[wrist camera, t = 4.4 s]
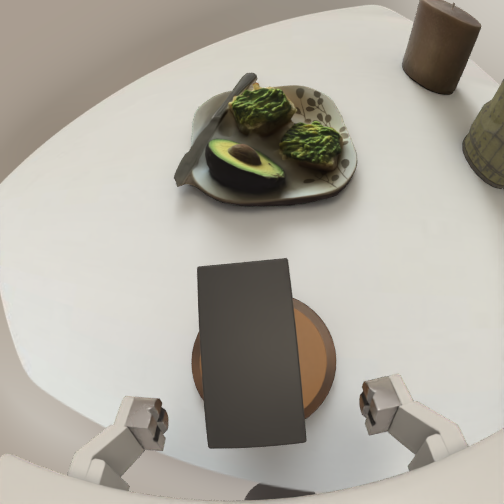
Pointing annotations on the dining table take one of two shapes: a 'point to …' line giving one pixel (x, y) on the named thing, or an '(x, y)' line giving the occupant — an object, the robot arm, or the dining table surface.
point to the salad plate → (268, 146)
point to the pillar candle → (440, 45)
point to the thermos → (488, 141)
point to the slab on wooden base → (255, 355)
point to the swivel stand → (329, 351)
